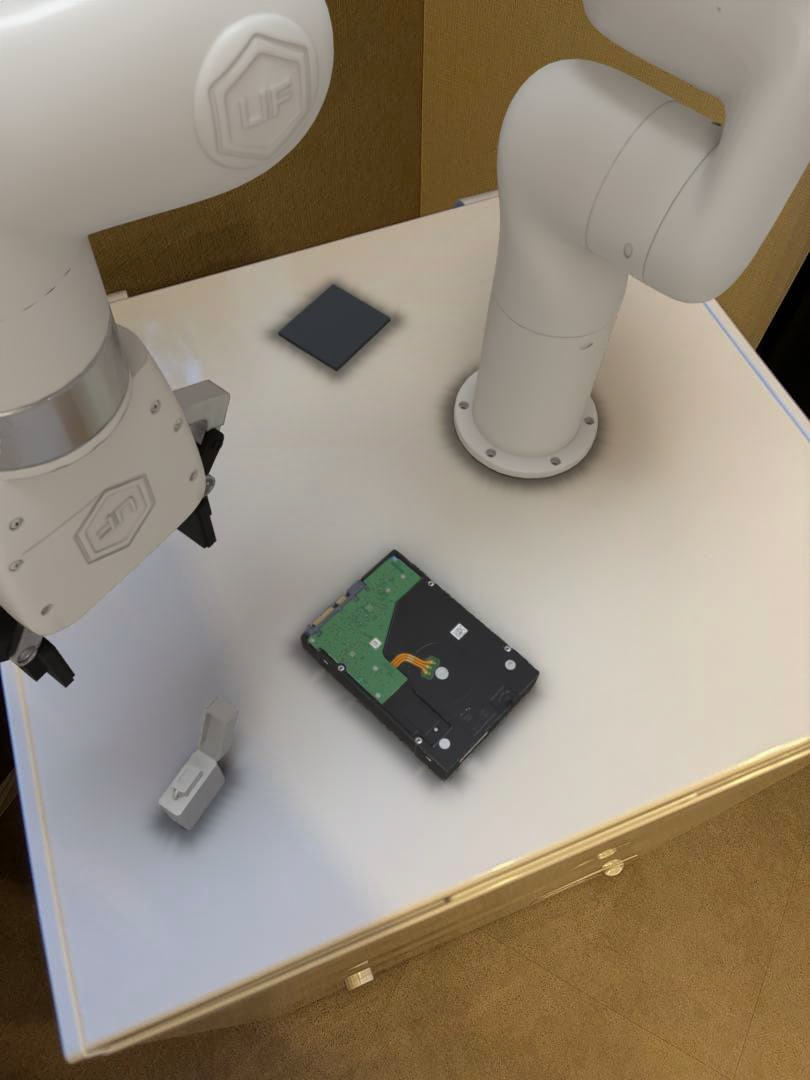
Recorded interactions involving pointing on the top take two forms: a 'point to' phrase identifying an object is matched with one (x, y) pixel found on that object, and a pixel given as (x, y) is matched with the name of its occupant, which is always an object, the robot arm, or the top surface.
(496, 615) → the top surface
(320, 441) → the top surface
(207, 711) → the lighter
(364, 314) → the mat
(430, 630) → the disk drive
